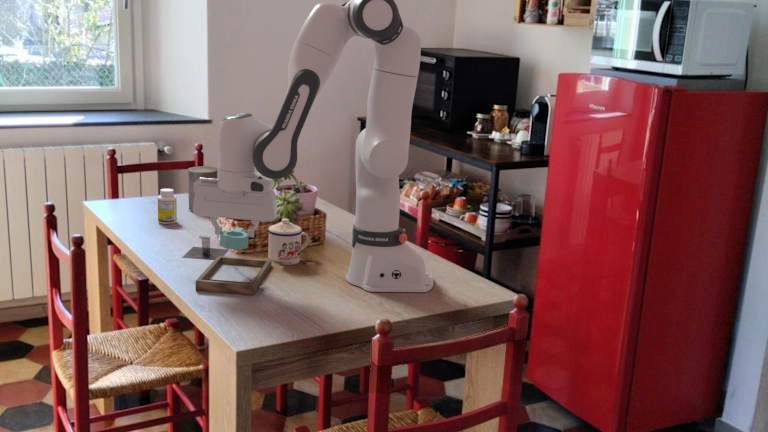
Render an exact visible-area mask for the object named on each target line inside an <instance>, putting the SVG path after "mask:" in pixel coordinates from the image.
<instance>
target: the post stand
mask: <svg viewBox="0 0 768 432" xmlns="http://www.w3.org/2000/svg"><path fill="white" fill-rule="evenodd" d="M211 238H212V237H211V236H207V235H200V236H199V238H198V239H200V240H201V247H200V246H193V247H191V248H190V249H189V250H188V251H186V253H185V254H184V255H183V256H182V257H181V258H183V259H193V260H194V259H196V260H205V261H206V260H208V261H214V260H215V259H216V258H217V257H218V256H224V257H225V255H226V253H228V251H229V249H226V248H224V249H223V248H213V247H211Z"/></svg>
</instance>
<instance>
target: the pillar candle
mask: <svg viewBox="0 0 768 432" xmlns="http://www.w3.org/2000/svg"><path fill="white" fill-rule="evenodd" d="M187 170H188V171H187V172H188V211H189V210H191V211H190V212H193V204H194V197H195V193H194V182H195V181H196V180H197V179H200V178H214V179H217V178H218V167H214V166H209V165H206V166H205V165H202V166H199V165H198V166H192V167H189V168H188V169H187ZM198 182H200V181H198Z"/></svg>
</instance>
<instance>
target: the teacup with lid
mask: <svg viewBox="0 0 768 432" xmlns="http://www.w3.org/2000/svg"><path fill="white" fill-rule="evenodd" d="M267 232H268V252H267V255H268V256H267V257H268V260H271V262H272V261H273V262H275V263H276V262H277V263H281V264H280V266H293V265H294V266H295V265H296V264H298V263H300V261H301V252H302V250H304V249H305V248H306V247H307V246H308V244H309V241H310V238H309V235H308V233H307V232H304V231H303V229H302V228H301V227H300V226H299V225H296V224H294V223H292V222H290V219H289V218H282V219H281V221H279V222H277V223H276V224H272V225H270V226H269V227H268V229H267ZM302 236H304V243H303V244H302Z"/></svg>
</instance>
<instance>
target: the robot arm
mask: <svg viewBox="0 0 768 432" xmlns="http://www.w3.org/2000/svg"><path fill="white" fill-rule="evenodd" d="M303 22H304V23H303V24H302V26H301V28H300V30H299V32H298V34H297V37H296V39H295V41H294V43H293V47H292V49H291V52H290V56H289V59H288V65H287V88H286V94H285V97H284V98H283V99H284V100H283V102H282V104H281V107H280V110H279V111H278V114H277V117H276V119H275V121H274V124H273V126H272V125H269V124H267V123H265V122H264V121H262V120H260V119H258V118H257V117H256V116H255V115H254V114H252V113H249V112H240V113H232V114H229V115H227V116H225V117H224V118H223V119H222V120H221V122H220V125H219V131H218V142H217V145H218V146H217V152H218V156H219V160H218V163H217V168H218V178H217V179H214V178H200V179H197V180H196V181H195V182H194V193H195V197H194V204H193V211H192V212H193V213H194V215H196V216H199V217H200V216H201V217H210V220H209V221H210V223H211V224H212V226H213V228H214V235H219V236H220V234H221V232H222V231H223V226H222V225H219V223H218V220H219V218H225V219H236V220H245V221H247V220H248V221H251V225H252V228H248V229H247V230H246V233H247V237H249V238H254V237H255V230H256V229H257V227H258V225H259V224H260V222H268V223H269V222H273V221H274V220H276V218H277V216H278V202H277V196H276V193H275V191H274V190H273V187H274V181H273V180H279V179H283V178H285V177H287V176H288V175H290V174H292V172H293V171H294V170H295V168H296V166H297V162H298V142H299V138H300V136H301V133H302V131H303V128H304V125H305V123H306V121H307V118H308V116H309V114H310V111H311V109H312V107H313V105H314V102H315V101H316V98H317V97H318V96H319V94H320V92H321V91H322V89H323V88H324V87H325V85H326V83H327V82H328V81H329V79H330V77H331V76H332V73H334V70H335V68H336V67H337V65H338V63H339V60H340V58H341V55H342V53H343V51H344V47H345V46H346V45H347V43H348V42H349V40H351V39H352V38H354V37H361V38H363V39H368V40H369V39H370V40H371V41H372V42H373V44H374V48H375V53H374V54H375V58H374V62H373V67H372V71H371V78H370V84H369V87H368V88H369V90H368V95H367V101H366V103H367V104H366V106H367V107H366V122H365V128H364V129H362V130H361V131H360V132H359V134H358V136H357V138H356V142H355V161H354V162H355V189H356V190H355V193H356V194H355V214H354V215H355V218H354V224H353V227H352V230H351V247H352V252H351V258H350V262H349V266H348V270H347V271H346V275H345V280H346V281H347V282H348V283H350V284H351V285H354V286H357V287H359V288H361V289H363V290H365V291H366V292H371V293H373V292H375V293H376V292H377V293H380V292H381V293H427V292H429V291H431V290H432V289H433V287H434V285H435V283H434V277H433V276H432V275H431V274H430V273H429V272H427V271H426V269H427V268H426V263H425V260H424V258H423V255H421V254H420V253H418V252H417V251H416V250H415V249H414V248H413V247H411V246H410V245H409V244H408V243H407V240H408V235H407V232H406V229H405V228H401V227H400V226H399V223H400V211H401V210H400V209H401V208H400V206H401V192H400V177H399V176H400V175H401V174H402V173H404V172H405V170H406V168H407V166H408V164H409V151H410V150H409V149H410V142H411V141H410V140H411V138H410V137H411V128H412V127H411V126H412V114H413V113H412V111H413V106H414V105H413V104H414V101H415V100H414V99H415V94H416V89H417V85H418V83H417V82H418V78H419V74H420V73H419V72H420V65H421V53H422V51H421V49H422V46H421V45H422V40H421V37H420V35H419V34H418V32H417V31H416V30H415V29H413V28H411V27H409V26H405V25H404V23H403V21H402V18H401V15H400V11H399V8H398V5H397V3H396V1H395V0H347V1H346V2H344V3H343V4H341V5H340V4H336V3H334V2H330V1H329V2H328V1H327V2H326V1H325V2H319V3H318V4H316V5H315V6H314V7H313V8H312V9H311V11H310V13H309V14H308V16H307V18H305V21H303ZM256 171H257V172H258V173H257V172H256ZM198 181H200V182H198Z"/></svg>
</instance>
